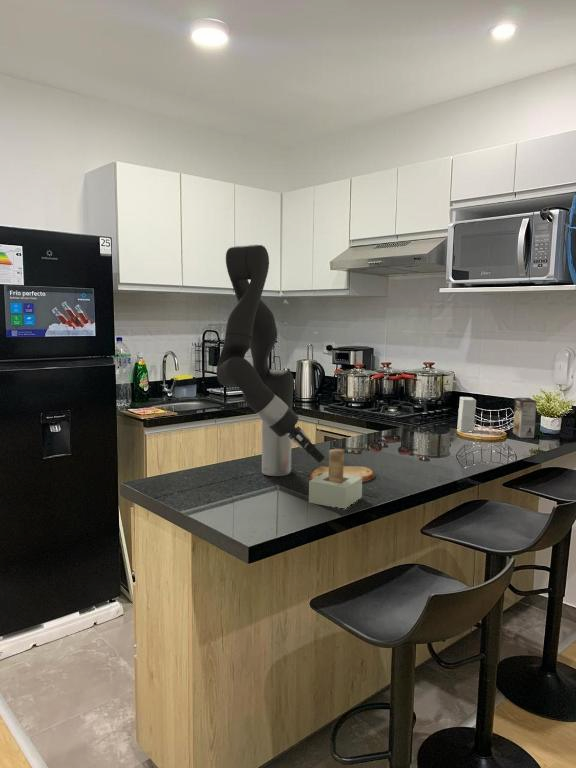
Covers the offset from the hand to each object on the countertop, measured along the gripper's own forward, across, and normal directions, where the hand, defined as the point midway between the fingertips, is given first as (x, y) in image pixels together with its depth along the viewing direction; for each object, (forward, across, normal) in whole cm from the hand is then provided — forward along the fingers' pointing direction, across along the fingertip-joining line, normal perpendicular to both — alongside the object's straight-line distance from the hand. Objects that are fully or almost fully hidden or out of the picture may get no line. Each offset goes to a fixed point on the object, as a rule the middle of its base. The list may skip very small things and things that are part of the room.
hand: (318, 455), depth 157 cm
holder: (+13, 0, +5) cm, 14 cm away
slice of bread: (+19, +21, 0) cm, 28 cm away
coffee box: (+87, +72, -69) cm, 133 cm away
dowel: (+13, 0, +5) cm, 14 cm away
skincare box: (+73, +85, -54) cm, 125 cm away
